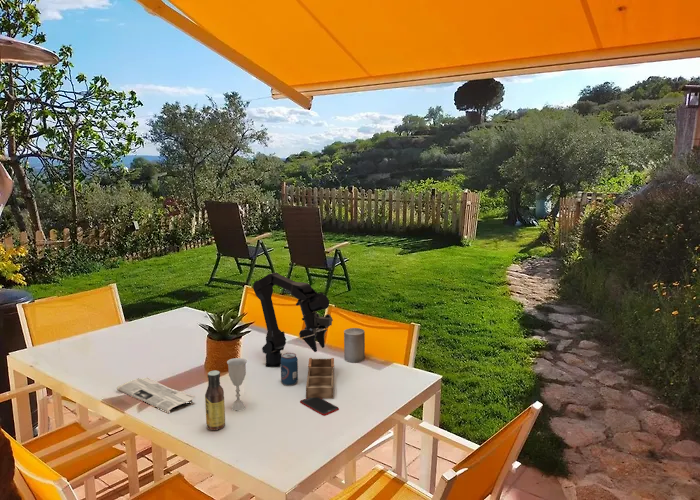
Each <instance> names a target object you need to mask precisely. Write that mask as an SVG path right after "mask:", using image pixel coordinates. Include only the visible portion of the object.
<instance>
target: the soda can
mask: <svg viewBox="0 0 700 500" xmlns="http://www.w3.org/2000/svg"><path fill="white" fill-rule="evenodd" d="M298 362H299V361H298V357H297V354H296V353H294V352H286V353H282V358H281V364H280V382H281V383H282V384H283V385H284V386H294V385H296V384H297V382H298V380H299V374H298V373H299V372H298V371H299V366H298V364H299V363H298Z"/></svg>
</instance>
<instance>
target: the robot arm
mask: <svg viewBox="0 0 700 500" xmlns="http://www.w3.org/2000/svg"><path fill="white" fill-rule="evenodd" d="M274 286H277V287H279V288H281V289H284V290H286V291H289V292H290V294H291V296H292V297H294V298H295V299H297V302H296V303H295V306H297V307H298V306H299V307H300V311H301V314H302V318H301V321H304V324H305V327H304V328H303V329H302V330H299V333H298V334H299V335H298V336H299V339H302V340H303V341H304V342H305V343H306V344H307V345H308V346H309V348H310V349H311V350H312V351H313V352H314V353H317V352H318V348H317V343H318V345H319V346H320V347H321V349H324V348H325V335H326V332H327V331H328V328H329V327H331V326H332V324H333V323H332V322H334V319H333V317H332V315H331V314H329V313H327V314H325V315H324V316H320V314H319V313H317V312H319V311H323V310H326V309H328V308H329V307H330V300H329V298H328V297H327V296H326V295H324V292H319V293H318V292H317V291H316V290H315V289H314V288H313V287H312V285H311V284H310V283H309V282H308V283H307V282H303V281H301V282H300V281H299V282H298V281H295V280H292V279H290V278H288V277H286V276H284V275H281V274H280V273H278V272H272V273H268V274H267V275H265V276H264V277H262V278H260V279H258V280H255V281H254V283H253V284H252V288H253V291H254V294H255V297H257V298H258V299H259V301H260V304H261V305H260V306H261V309H262V313H263V317H264V320H265V322H264V323H265V327H266V330H267V333H266V336H265V344H264V345H263V347H261V350H262V354H265V367H271V368H272V367H273V368H274V367H275V368H276V367H280V368H281V358H282V355H283V353H281V351H284V348H285V347H286V344H287V339H286V334H285V332H284V331H282V330H281V329H279V325H278V324H279V323H278V320H277V317H276V312H275V308H274V304H273V300H272V299H273V298H272V297H273V293H274Z"/></svg>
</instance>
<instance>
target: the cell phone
mask: <svg viewBox="0 0 700 500" xmlns="http://www.w3.org/2000/svg"><path fill="white" fill-rule="evenodd" d="M299 403H300V404H301V405H303V406H304V407H307V408H308V409H310V410H312V411H314V412H315V413H317V414H318V415H320V416H324V417H325V416H328V415H331V414H333V413H335V412H338V411H339V410H340V408H339V406H337V405H335V404H332V403H331V402H329V401H327V400H326V399H322V398H320V397H319V398H306V397H305V398H304V399H301V400H300V401H299Z"/></svg>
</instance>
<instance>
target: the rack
mask: <svg viewBox="0 0 700 500" xmlns="http://www.w3.org/2000/svg"><path fill="white" fill-rule="evenodd" d="M307 365H308V366H307V367H308V368H307V369H308V370H307V377H306V384H305V399H306V398H319V397H320V398H322V399H323V400H328V399H329V400H332V399H334V368H335V358H334V357H331V358H312V357H309V359H308V364H307Z"/></svg>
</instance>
